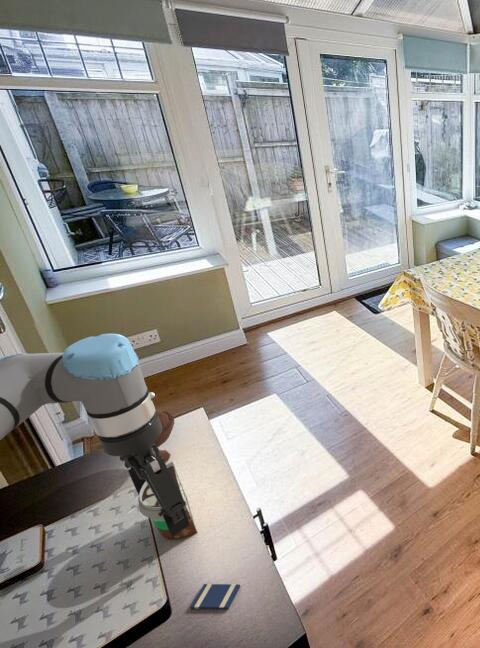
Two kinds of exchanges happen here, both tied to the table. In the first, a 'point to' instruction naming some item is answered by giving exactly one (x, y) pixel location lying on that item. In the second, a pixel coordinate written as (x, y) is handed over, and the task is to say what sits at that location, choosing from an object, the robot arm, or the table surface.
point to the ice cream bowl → (164, 431)
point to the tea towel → (215, 596)
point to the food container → (152, 508)
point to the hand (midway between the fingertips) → (163, 509)
